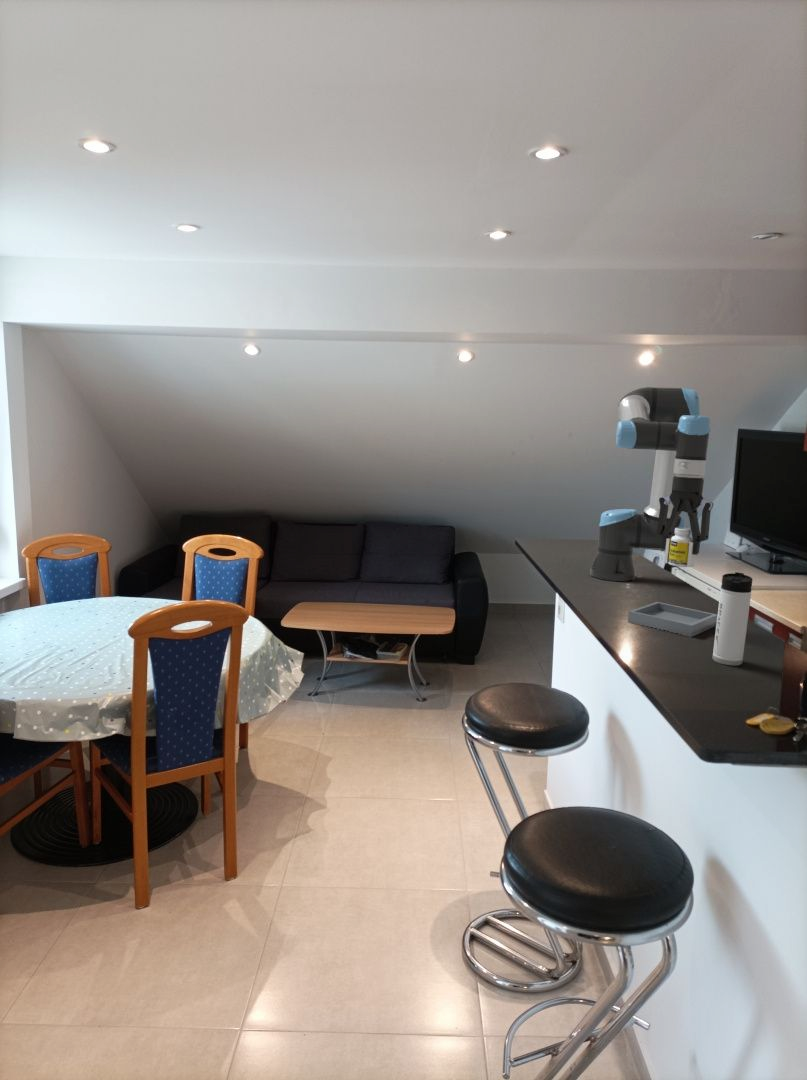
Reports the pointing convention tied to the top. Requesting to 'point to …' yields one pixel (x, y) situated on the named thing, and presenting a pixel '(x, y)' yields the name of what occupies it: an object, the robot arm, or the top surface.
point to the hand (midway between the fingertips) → (678, 564)
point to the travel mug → (732, 619)
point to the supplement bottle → (680, 547)
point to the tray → (673, 618)
